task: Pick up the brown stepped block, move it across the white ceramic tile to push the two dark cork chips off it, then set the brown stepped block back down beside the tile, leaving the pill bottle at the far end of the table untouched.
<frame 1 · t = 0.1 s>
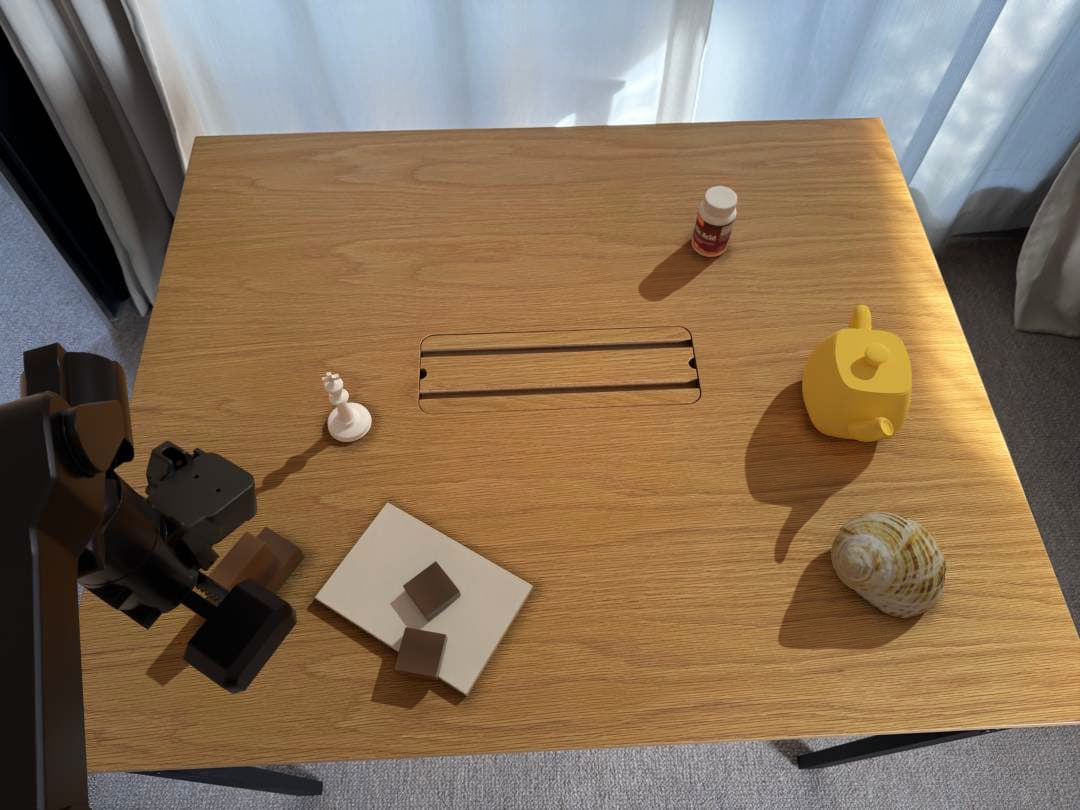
hand: (208, 617, 59), 17 cm above the table, tool pointing down, fingers open, 9 cm apart
seashell: (874, 573, 78), on the table
chip b: (433, 593, 76), point 1 cm above the table, touching tile
pill bottle: (708, 246, 102), on the table
chess piece: (350, 424, 88), on the table
teapot: (844, 412, 88), on the table
tile: (425, 594, 77), on the table
brown stepped block: (257, 587, 77), on the table
chip a: (422, 655, 73), point 1 cm above the table, touching tile
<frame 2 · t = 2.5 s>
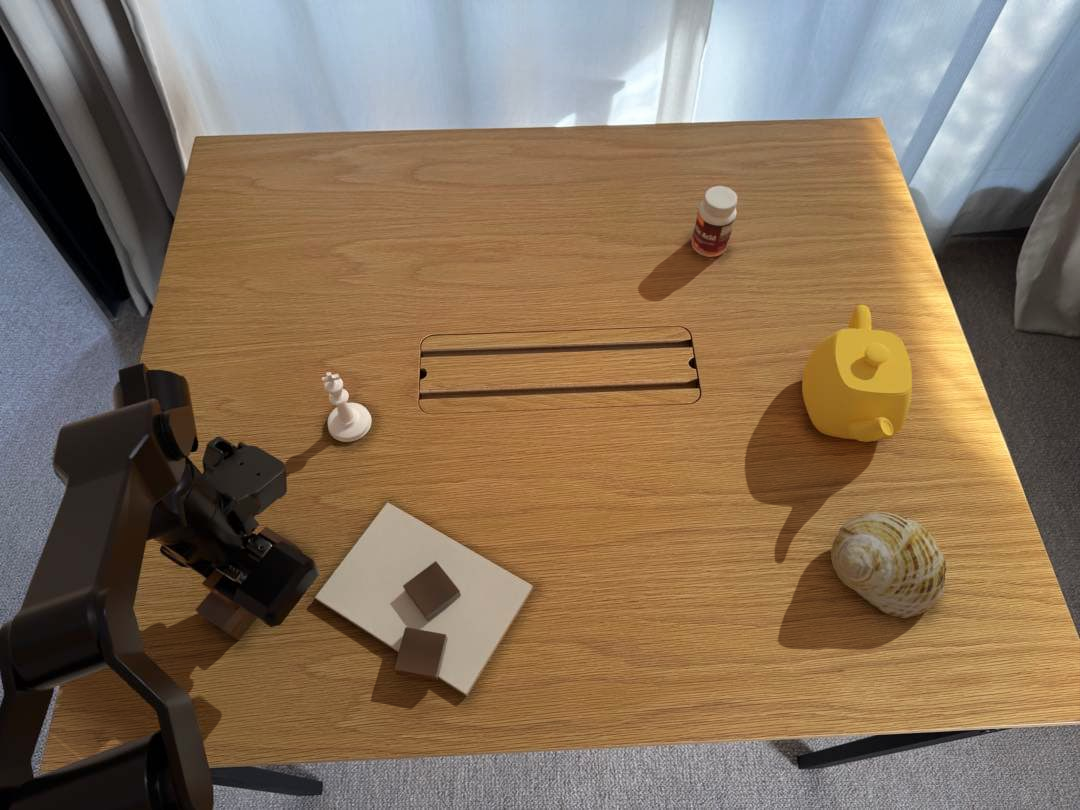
hand: (246, 575, 74), 4 cm above the table, tool pointing down, fingers closed on brown stepped block, 2 cm apart
brown stepped block: (257, 587, 77), on the table, touching gripper
everything else where it was.
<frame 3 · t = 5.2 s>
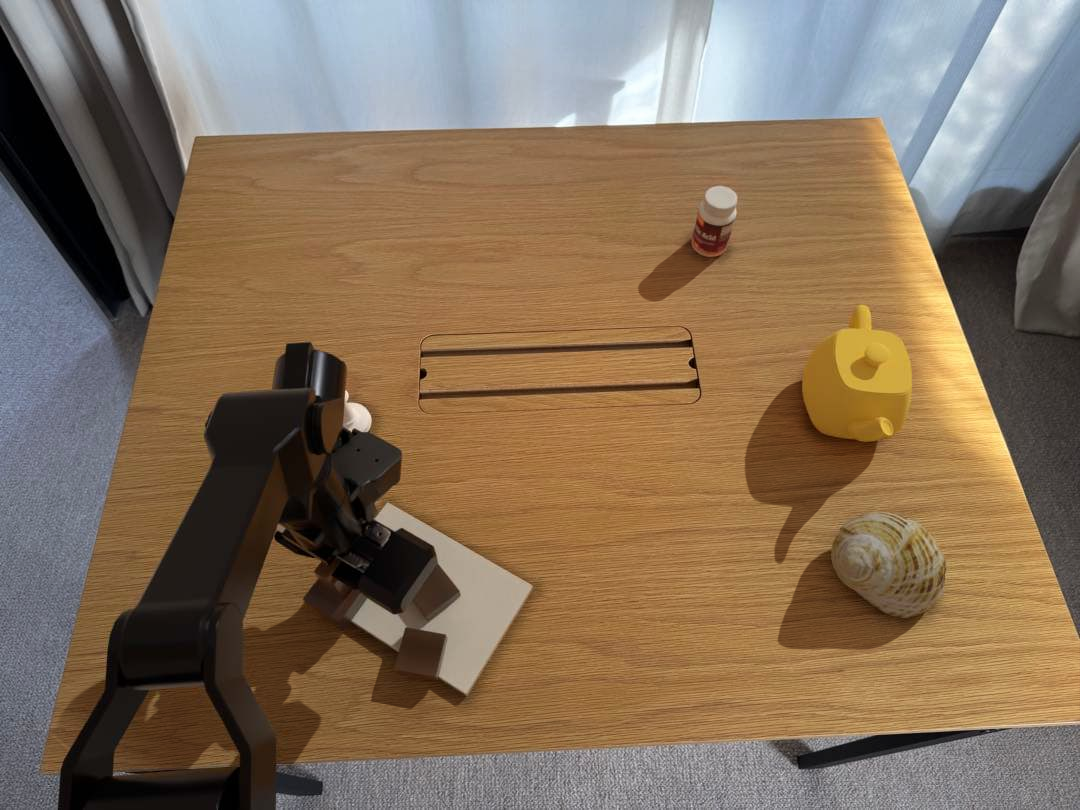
hand: (352, 564, 74), 5 cm above the table, tool pointing down, fingers closed on brown stepped block, 2 cm apart
brown stepped block: (359, 577, 77), point 1 cm above the table, touching gripper
everything else where it was.
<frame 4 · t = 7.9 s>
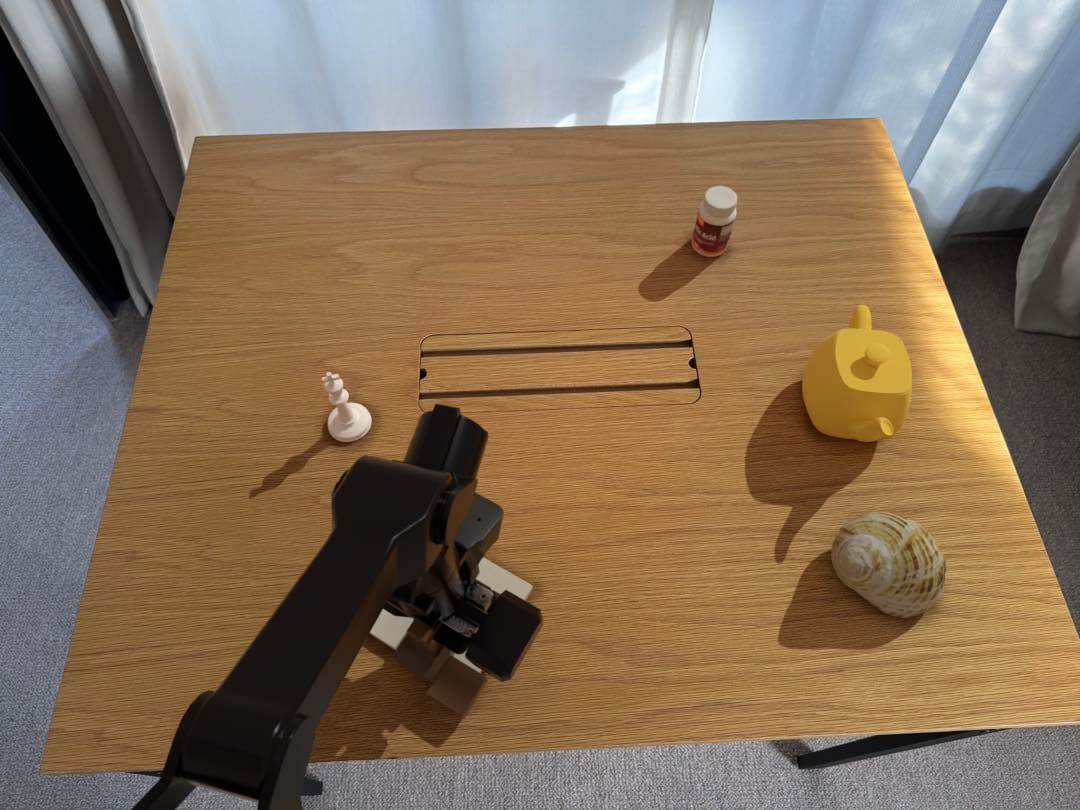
hand: (442, 620, 71), 4 cm above the table, tool pointing down, fingers closed on brown stepped block, 2 cm apart
chip b: (499, 621, 74), point 1 cm above the table, touching tile
brown stepped block: (446, 630, 74), point 1 cm above the table, touching chip a, gripper
chip a: (458, 688, 71), point 1 cm above the table, touching brown stepped block
everything else where it was.
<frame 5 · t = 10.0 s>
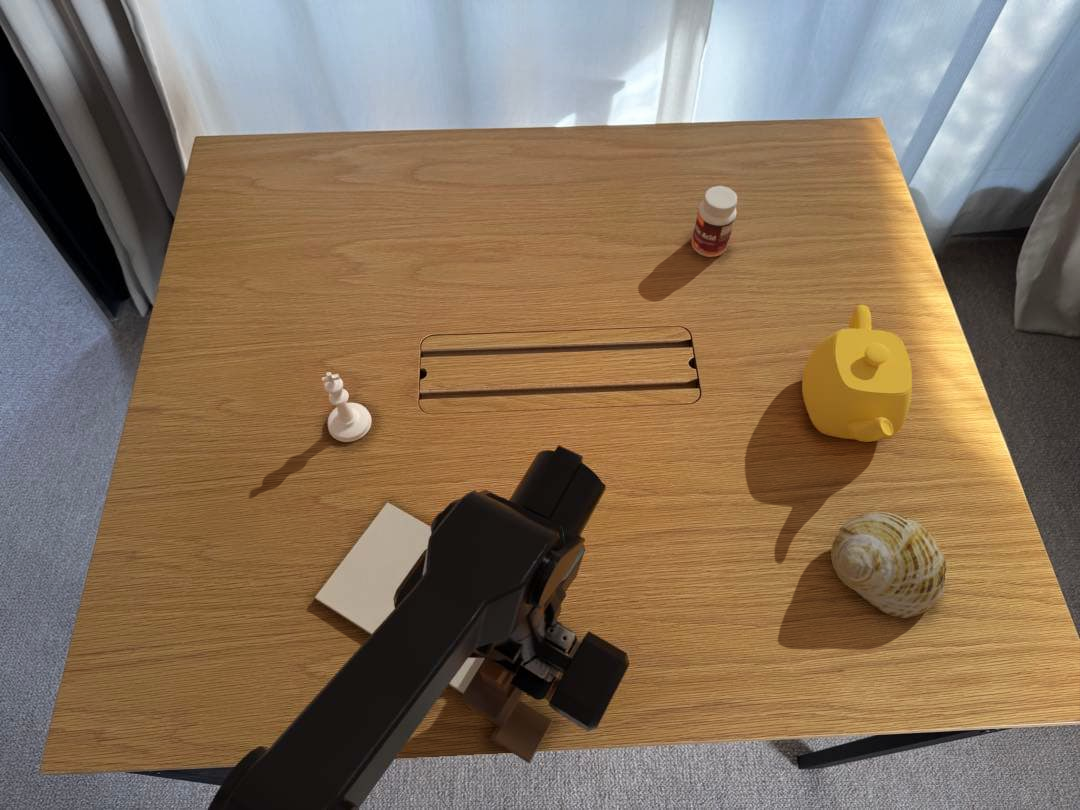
hand: (512, 659, 68), 6 cm above the table, tool pointing down, fingers closed on brown stepped block, 2 cm apart
chip b: (563, 660, 73), on the table
brown stepped block: (513, 667, 70), point 3 cm above the table, touching gripper
chip a: (522, 731, 70), on the table
everything else where it was.
when the fingers open (3 cm above the table, at t = 14.5 s): brown stepped block stays where it is, on the table.
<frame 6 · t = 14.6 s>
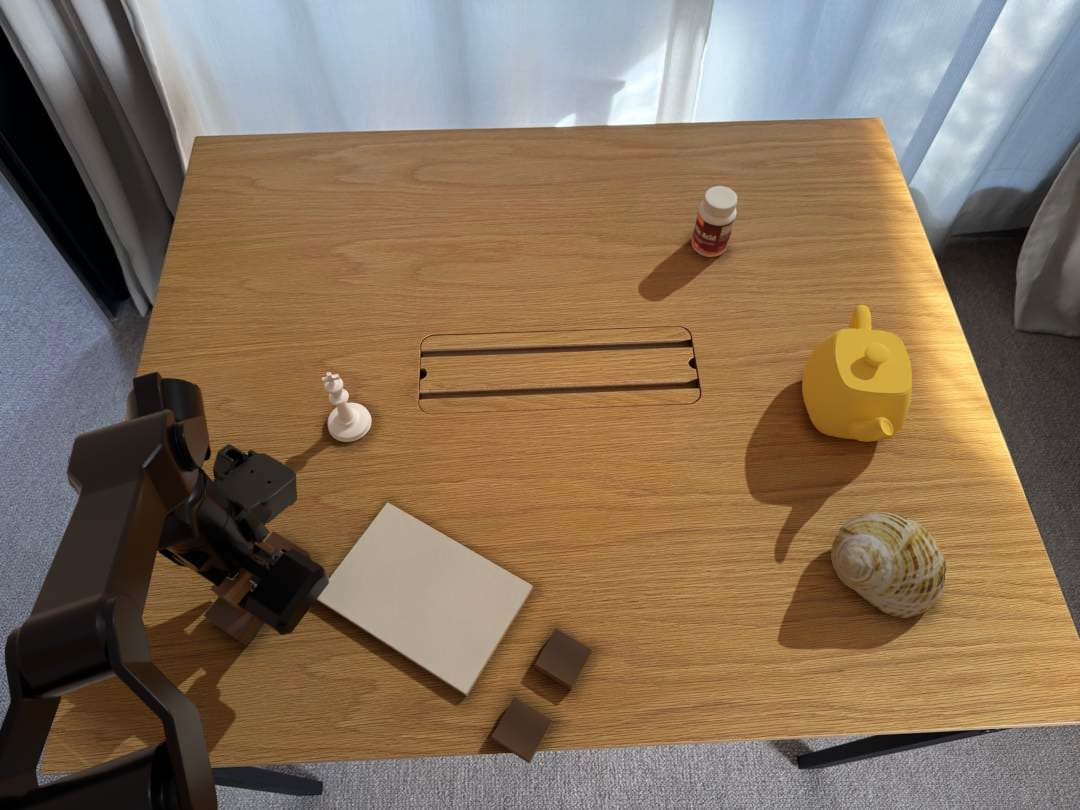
hand: (255, 582, 75), 3 cm above the table, tool pointing down, fingers open, 6 cm apart
brown stepped block: (265, 592, 77), on the table
everything else where it was.
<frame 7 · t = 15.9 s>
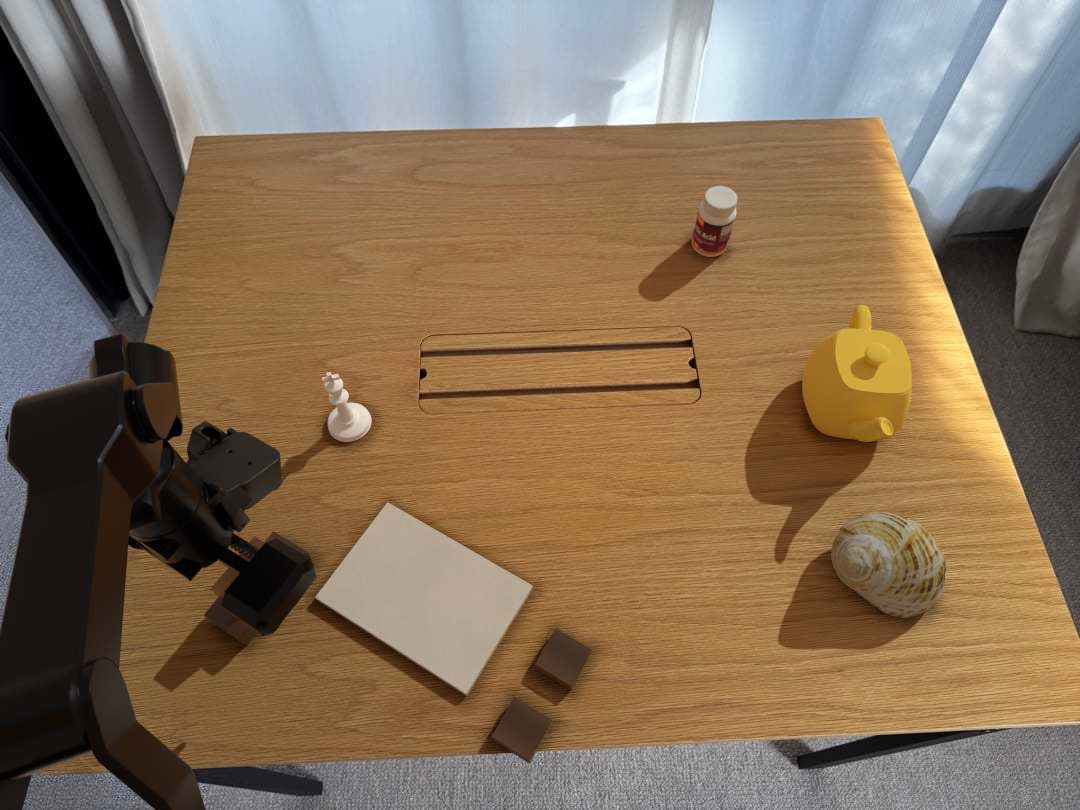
hand: (237, 578, 67), 11 cm above the table, tool pointing down, fingers open, 9 cm apart
nothing on the table moved.
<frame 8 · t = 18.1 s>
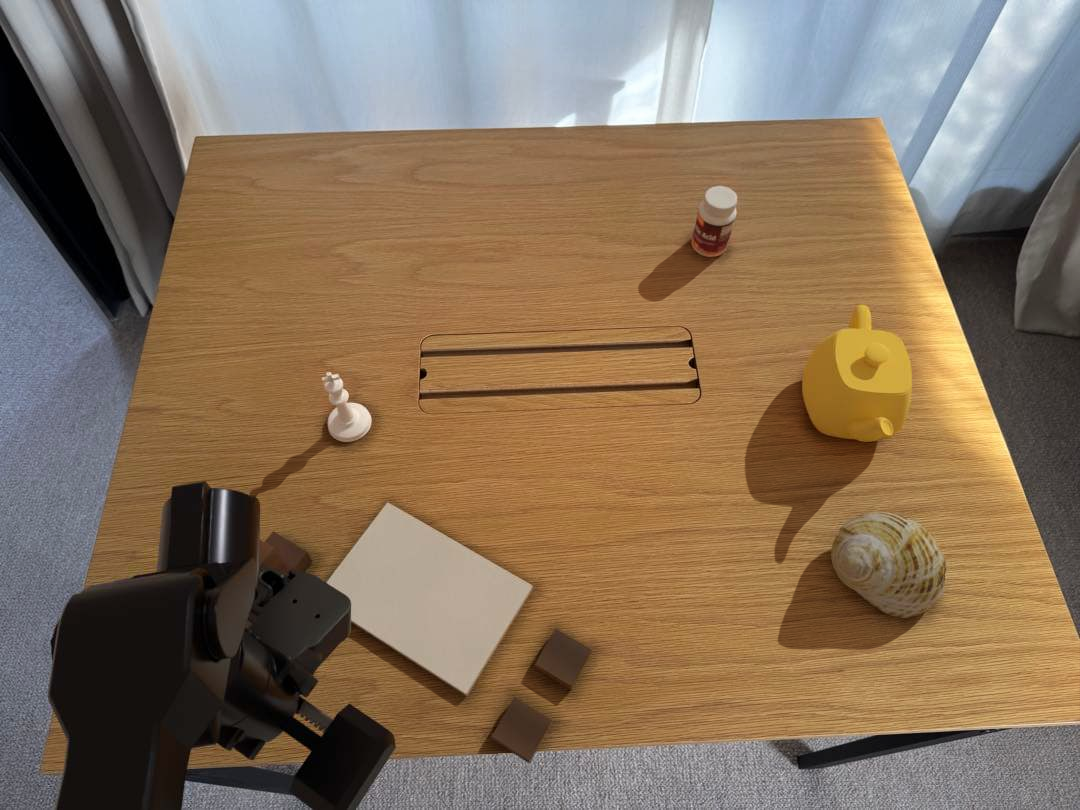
hand: (294, 725, 59), 12 cm above the table, tool pointing down, fingers open, 9 cm apart
nothing on the table moved.
at the end: chip a on the table; chip b on the table; pill bottle moved 0.2 cm from its start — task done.
